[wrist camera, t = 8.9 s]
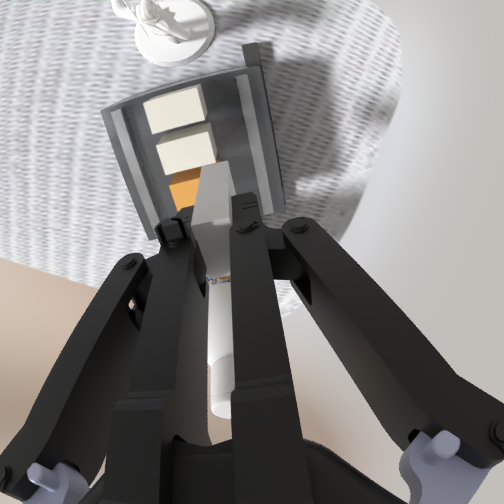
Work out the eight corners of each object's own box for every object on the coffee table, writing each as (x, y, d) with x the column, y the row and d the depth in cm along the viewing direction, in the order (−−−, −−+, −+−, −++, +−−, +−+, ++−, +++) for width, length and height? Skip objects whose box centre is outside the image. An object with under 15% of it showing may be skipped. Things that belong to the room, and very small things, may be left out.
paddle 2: (164, 134, 21) (155, 145, 18) (210, 122, 21) (207, 131, 18) (172, 160, 22) (165, 175, 20) (217, 149, 22) (215, 162, 20)
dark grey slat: (241, 45, 22) (242, 44, 21) (255, 43, 22) (256, 42, 21) (272, 201, 32) (273, 206, 31) (283, 199, 32) (285, 204, 31)
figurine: (231, 17, 21) (234, -13, 11) (185, 80, 24) (157, 95, 14) (163, -17, 18) (122, -58, 8) (120, 47, 21) (54, 47, 11)
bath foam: (272, 229, 34) (312, 400, 17) (234, 270, 37) (245, 435, 20) (220, 195, 31) (218, 372, 15) (183, 242, 34) (160, 414, 18)
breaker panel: (124, 99, 24) (97, 112, 19) (252, 64, 23) (260, 66, 18) (160, 208, 31) (147, 244, 26) (275, 183, 30) (286, 214, 25)
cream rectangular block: (153, 97, 19) (142, 103, 17) (200, 83, 19) (196, 87, 17) (161, 124, 20) (152, 134, 18) (207, 112, 20) (204, 120, 18)
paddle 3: (175, 170, 23) (169, 185, 20) (219, 159, 22) (218, 173, 20) (183, 195, 24) (178, 213, 22) (225, 185, 24) (226, 202, 21)
